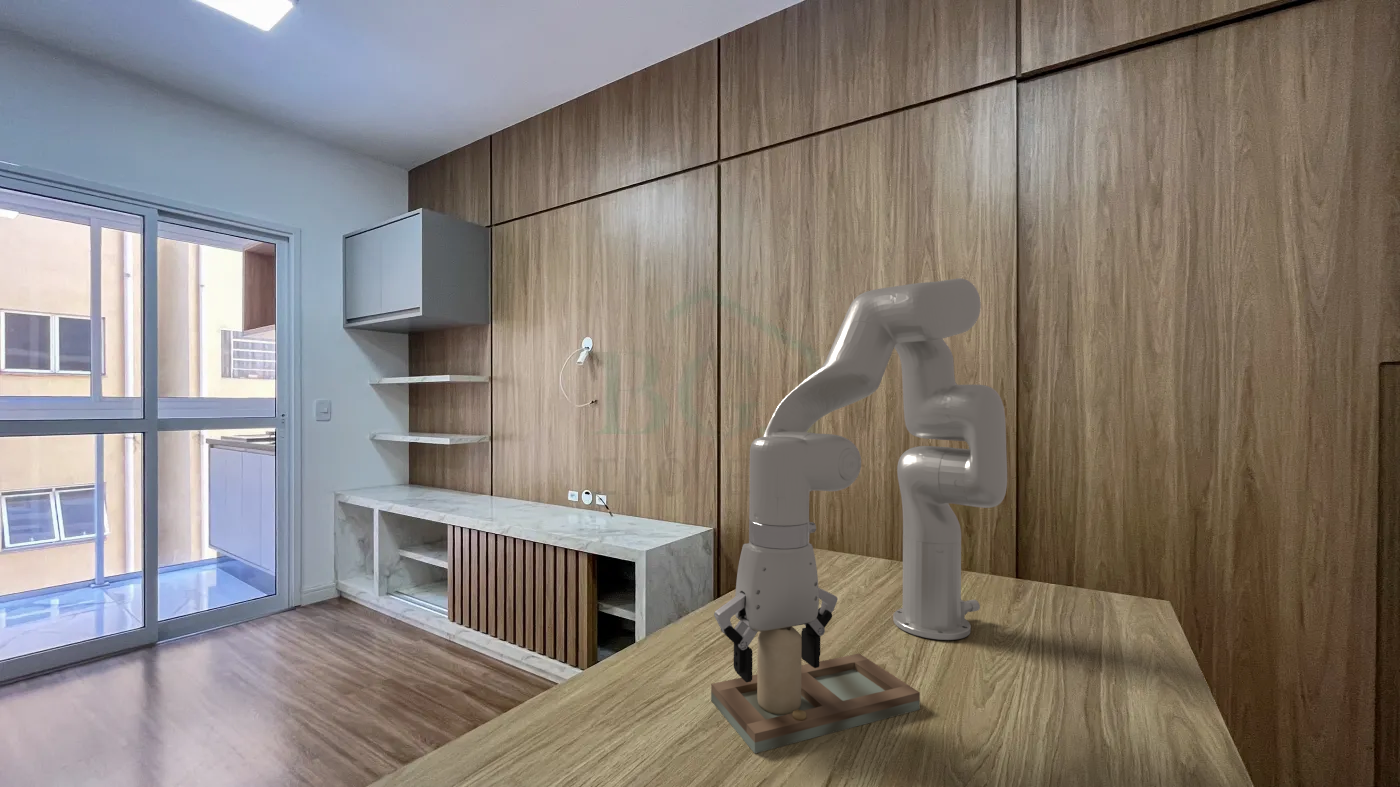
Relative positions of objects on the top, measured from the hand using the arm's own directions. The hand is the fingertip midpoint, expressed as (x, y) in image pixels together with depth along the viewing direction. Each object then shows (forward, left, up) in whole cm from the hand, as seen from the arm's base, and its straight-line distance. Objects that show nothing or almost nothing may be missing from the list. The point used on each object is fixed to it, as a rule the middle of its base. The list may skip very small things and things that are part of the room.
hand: (777, 670), depth 72 cm
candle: (0, 0, -4) cm, 5 cm away
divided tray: (-6, 0, -5) cm, 8 cm away
